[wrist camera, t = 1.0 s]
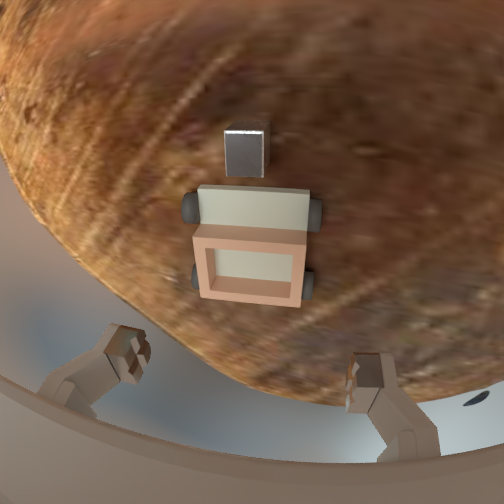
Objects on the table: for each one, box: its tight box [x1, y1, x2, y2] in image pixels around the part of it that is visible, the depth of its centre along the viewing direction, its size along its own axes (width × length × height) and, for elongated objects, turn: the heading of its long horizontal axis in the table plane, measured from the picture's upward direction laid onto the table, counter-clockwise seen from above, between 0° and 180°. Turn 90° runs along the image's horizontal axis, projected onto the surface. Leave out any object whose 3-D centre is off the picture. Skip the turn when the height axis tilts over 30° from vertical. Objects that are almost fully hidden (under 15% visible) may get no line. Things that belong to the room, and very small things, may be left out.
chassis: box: [181, 185, 322, 307], centre depth 42 cm, size 16×17×5 cm
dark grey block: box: [224, 120, 270, 177], centre depth 34 cm, size 5×4×6 cm
